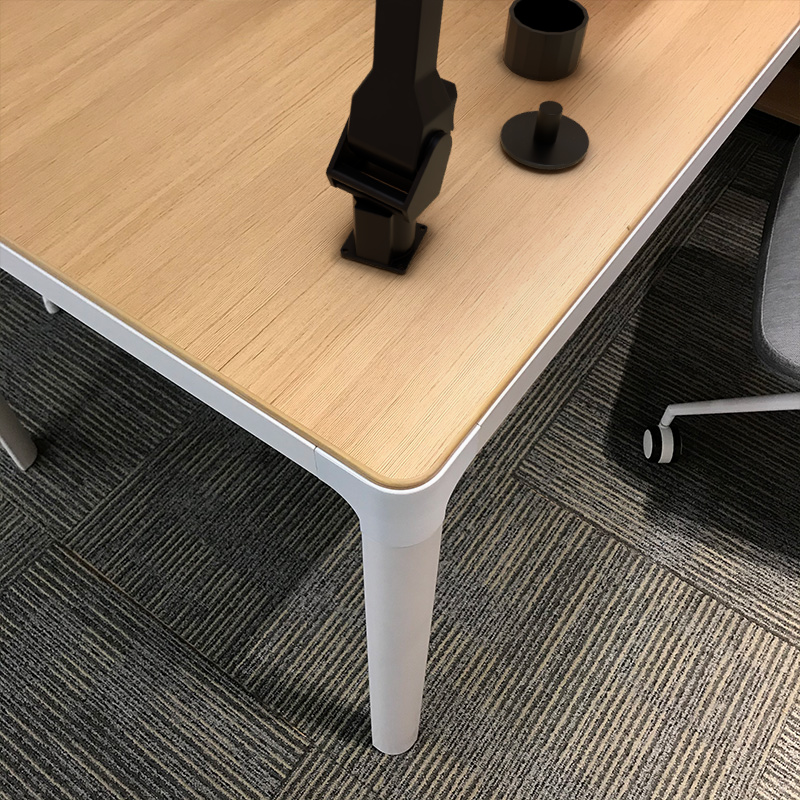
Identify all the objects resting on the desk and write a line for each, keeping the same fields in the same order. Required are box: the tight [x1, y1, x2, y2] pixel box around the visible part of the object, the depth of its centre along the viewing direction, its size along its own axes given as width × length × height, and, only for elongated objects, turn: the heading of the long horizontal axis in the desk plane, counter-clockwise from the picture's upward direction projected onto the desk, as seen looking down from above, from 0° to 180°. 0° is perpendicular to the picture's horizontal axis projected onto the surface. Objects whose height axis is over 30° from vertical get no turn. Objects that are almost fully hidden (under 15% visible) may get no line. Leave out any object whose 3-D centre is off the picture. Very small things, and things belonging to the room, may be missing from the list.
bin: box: [502, 0, 590, 82], centre depth 88 cm, size 9×9×6 cm
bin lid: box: [499, 100, 590, 170], centre depth 79 cm, size 9×9×5 cm
